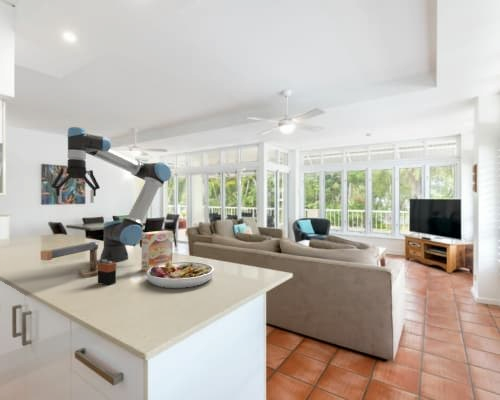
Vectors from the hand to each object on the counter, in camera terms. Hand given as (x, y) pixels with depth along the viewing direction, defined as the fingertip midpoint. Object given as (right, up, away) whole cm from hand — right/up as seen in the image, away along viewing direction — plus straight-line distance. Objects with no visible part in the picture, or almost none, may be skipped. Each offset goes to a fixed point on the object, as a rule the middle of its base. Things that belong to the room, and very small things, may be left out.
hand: (76, 202), depth 136 cm
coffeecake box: (+36, -35, +12) cm, 52 cm away
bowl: (+53, -36, -7) cm, 65 cm away
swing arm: (+5, -23, -11) cm, 26 cm away
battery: (+22, -36, -14) cm, 44 cm away
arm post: (+8, -35, 0) cm, 36 cm away
